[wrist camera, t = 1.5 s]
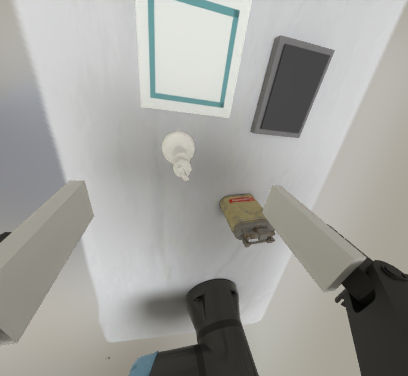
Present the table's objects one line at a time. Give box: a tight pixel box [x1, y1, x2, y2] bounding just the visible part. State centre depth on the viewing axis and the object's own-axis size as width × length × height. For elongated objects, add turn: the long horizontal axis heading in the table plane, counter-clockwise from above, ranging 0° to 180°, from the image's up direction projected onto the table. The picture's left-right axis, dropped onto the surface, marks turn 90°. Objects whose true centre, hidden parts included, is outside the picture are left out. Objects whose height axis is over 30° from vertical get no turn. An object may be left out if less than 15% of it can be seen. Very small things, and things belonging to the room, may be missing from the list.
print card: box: [135, 0, 252, 118], centre depth 19 cm, size 12×12×1 cm
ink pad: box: [251, 36, 335, 138], centre depth 22 cm, size 11×8×2 cm
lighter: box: [220, 194, 275, 247], centre depth 27 cm, size 7×4×10 cm, turn 89°
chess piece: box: [162, 131, 195, 181], centre depth 20 cm, size 5×5×10 cm
